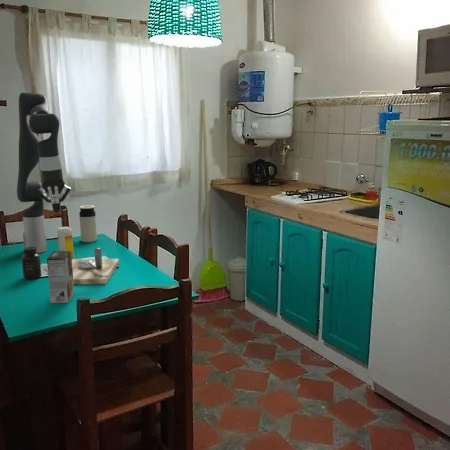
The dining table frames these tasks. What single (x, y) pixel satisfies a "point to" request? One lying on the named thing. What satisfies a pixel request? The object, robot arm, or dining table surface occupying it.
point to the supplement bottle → (31, 263)
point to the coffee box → (60, 276)
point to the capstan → (93, 261)
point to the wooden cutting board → (93, 272)
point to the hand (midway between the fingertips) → (57, 212)
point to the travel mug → (88, 223)
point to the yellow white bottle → (65, 239)
